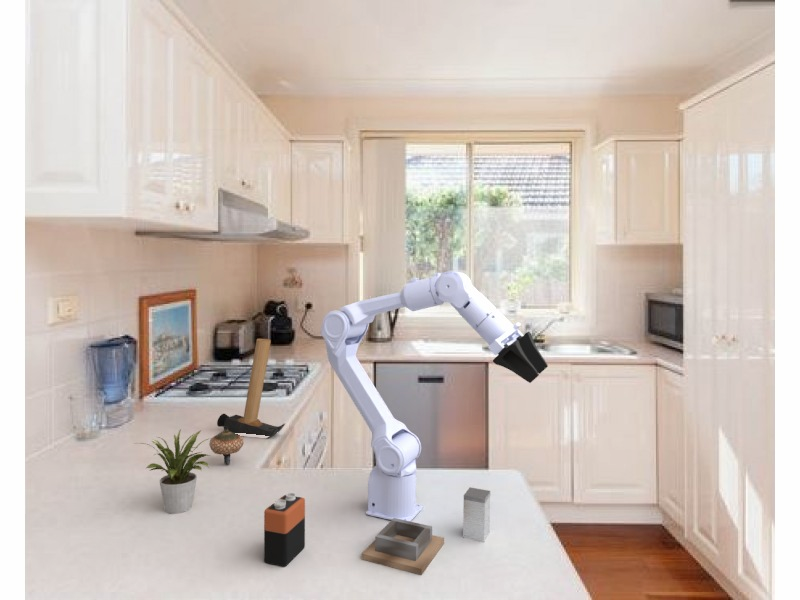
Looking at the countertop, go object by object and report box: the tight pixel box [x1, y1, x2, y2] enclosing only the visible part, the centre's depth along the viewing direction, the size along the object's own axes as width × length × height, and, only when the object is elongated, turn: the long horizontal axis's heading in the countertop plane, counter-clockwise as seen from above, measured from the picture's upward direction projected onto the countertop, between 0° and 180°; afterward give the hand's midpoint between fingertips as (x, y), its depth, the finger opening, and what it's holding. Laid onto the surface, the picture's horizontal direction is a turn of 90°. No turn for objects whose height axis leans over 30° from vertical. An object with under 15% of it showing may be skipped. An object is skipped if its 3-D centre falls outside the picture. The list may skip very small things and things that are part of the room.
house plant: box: [133, 428, 212, 515], centre depth 103 cm, size 14×14×16 cm
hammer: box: [216, 338, 286, 438], centre depth 154 cm, size 20×5×30 cm, turn 75°
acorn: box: [209, 427, 245, 466], centre depth 129 cm, size 8×8×10 cm
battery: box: [263, 492, 306, 567], centre depth 87 cm, size 4×7×10 cm, turn 162°
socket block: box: [361, 518, 445, 576], centre depth 89 cm, size 11×11×4 cm
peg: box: [462, 487, 491, 543], centre depth 95 cm, size 4×4×8 cm
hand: (539, 374), depth 91 cm, fingers open, 7 cm apart
